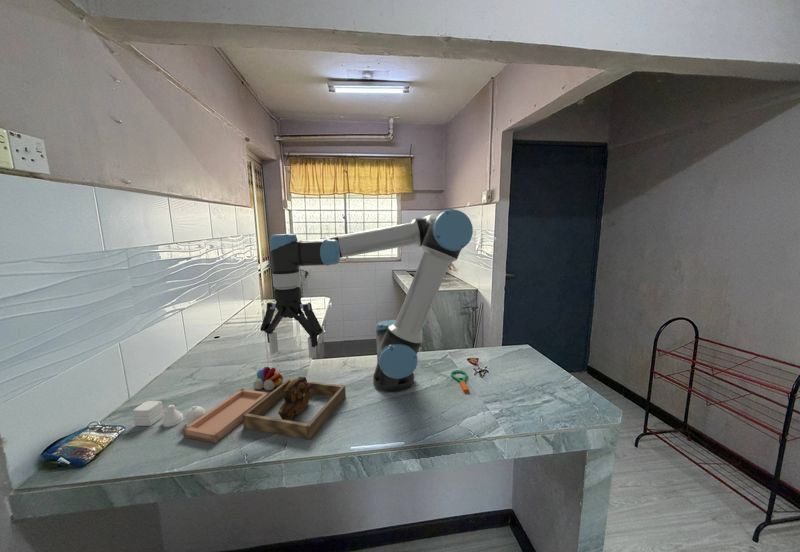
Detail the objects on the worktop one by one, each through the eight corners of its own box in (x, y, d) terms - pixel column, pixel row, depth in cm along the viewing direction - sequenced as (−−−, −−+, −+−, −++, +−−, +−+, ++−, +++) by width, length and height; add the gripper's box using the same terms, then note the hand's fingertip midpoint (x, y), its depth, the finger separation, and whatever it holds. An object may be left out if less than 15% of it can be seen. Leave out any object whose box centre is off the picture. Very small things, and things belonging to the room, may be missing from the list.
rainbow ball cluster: (274, 393, 109) (272, 373, 108) (249, 390, 111) (247, 371, 110) (287, 381, 117) (285, 363, 116) (264, 379, 119) (262, 361, 118)
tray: (269, 399, 105) (268, 392, 104) (215, 443, 84) (214, 435, 84) (242, 395, 108) (242, 388, 107) (183, 437, 87) (182, 428, 87)
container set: (134, 427, 92) (131, 410, 91) (149, 416, 97) (147, 400, 97) (198, 428, 91) (196, 411, 90) (210, 417, 96) (208, 401, 95)
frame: (345, 396, 105) (345, 385, 105) (310, 439, 84) (309, 426, 84) (289, 389, 111) (288, 378, 111) (243, 427, 90) (242, 415, 90)
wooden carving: (293, 428, 90) (290, 396, 88) (278, 427, 90) (275, 395, 89) (315, 397, 106) (313, 369, 104) (303, 396, 106) (300, 369, 105)
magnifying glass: (449, 373, 121) (449, 369, 121) (464, 372, 121) (464, 368, 121) (457, 394, 106) (457, 389, 106) (475, 393, 106) (475, 389, 106)
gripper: (331, 285, 92) (335, 353, 95) (260, 283, 99) (267, 346, 102) (317, 290, 85) (323, 363, 88) (243, 288, 92) (250, 355, 95)
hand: (293, 354), depth 95 cm, fingers open, 13 cm apart
